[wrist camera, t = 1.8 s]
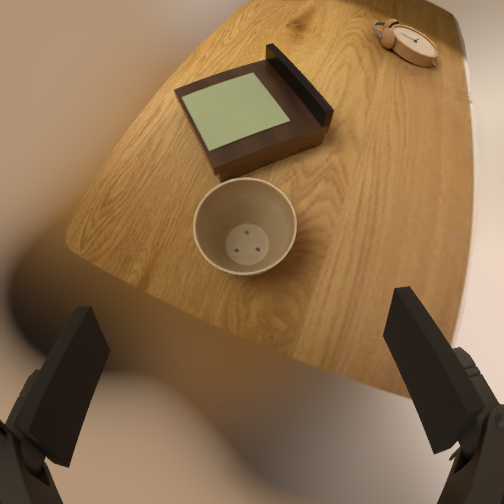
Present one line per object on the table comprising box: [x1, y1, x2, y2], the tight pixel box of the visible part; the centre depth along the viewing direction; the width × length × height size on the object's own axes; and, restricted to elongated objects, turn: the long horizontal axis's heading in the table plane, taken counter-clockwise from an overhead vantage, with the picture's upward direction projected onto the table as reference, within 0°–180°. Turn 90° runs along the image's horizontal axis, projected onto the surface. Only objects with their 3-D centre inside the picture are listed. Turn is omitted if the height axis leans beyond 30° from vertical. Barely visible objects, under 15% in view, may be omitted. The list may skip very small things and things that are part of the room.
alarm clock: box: [372, 19, 439, 67], centre depth 47 cm, size 11×5×15 cm
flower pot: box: [193, 177, 297, 276], centre depth 33 cm, size 10×10×7 cm
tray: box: [174, 43, 334, 183], centre depth 38 cm, size 16×16×7 cm
